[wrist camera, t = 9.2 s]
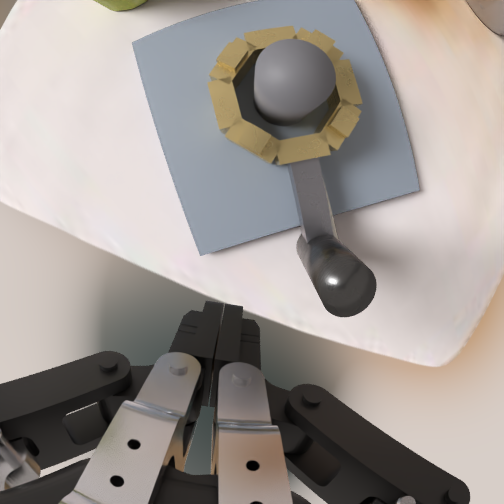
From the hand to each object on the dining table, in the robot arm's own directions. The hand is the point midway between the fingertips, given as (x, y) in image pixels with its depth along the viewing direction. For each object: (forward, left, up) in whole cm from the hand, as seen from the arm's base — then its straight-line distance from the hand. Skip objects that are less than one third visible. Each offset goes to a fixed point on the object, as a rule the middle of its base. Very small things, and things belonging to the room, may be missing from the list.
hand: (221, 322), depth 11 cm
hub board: (-7, -10, -13) cm, 18 cm away
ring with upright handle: (-7, -5, -12) cm, 15 cm away
